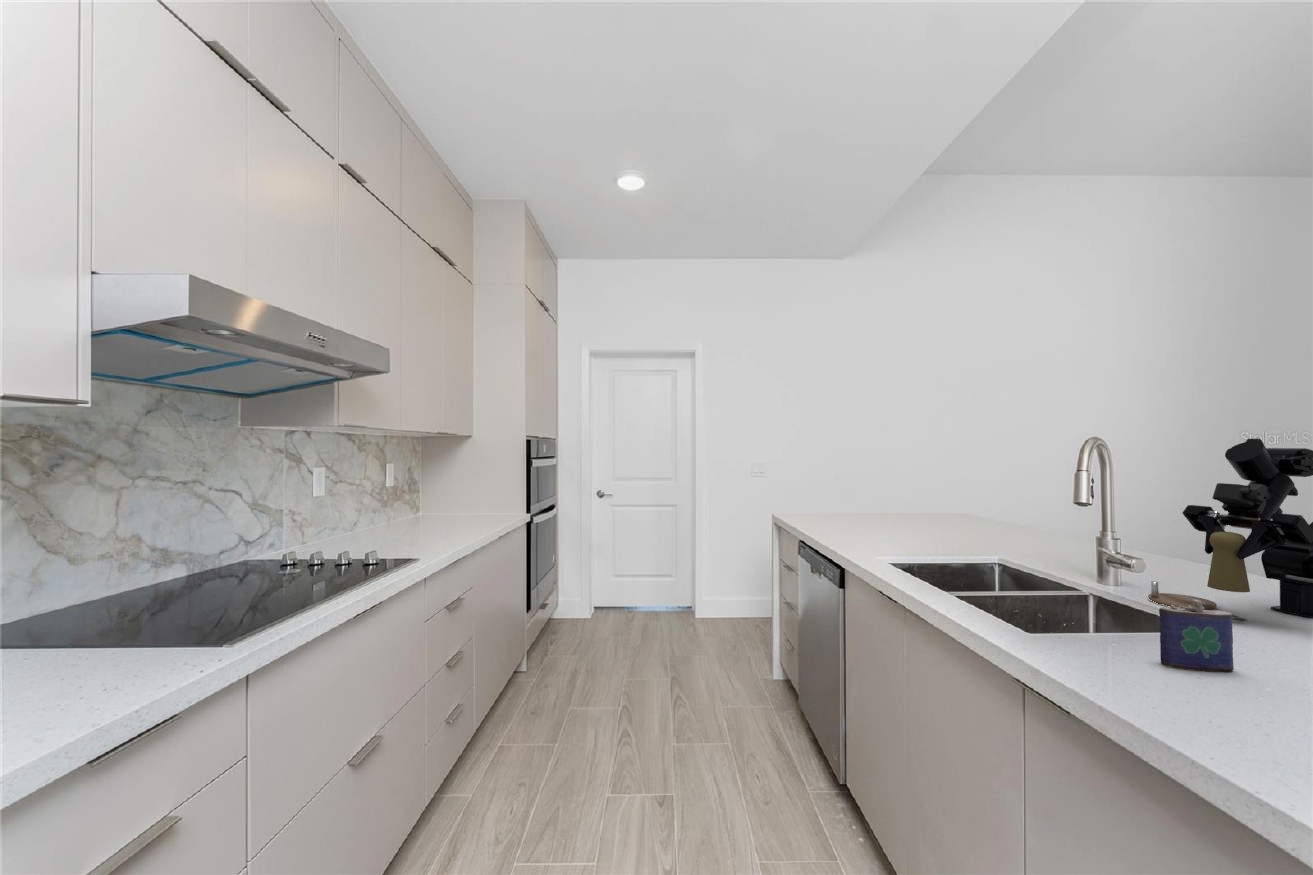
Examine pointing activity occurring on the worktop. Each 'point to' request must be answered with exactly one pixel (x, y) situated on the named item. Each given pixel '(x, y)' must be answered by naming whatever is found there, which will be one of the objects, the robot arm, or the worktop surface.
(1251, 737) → the worktop surface
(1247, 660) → the worktop surface
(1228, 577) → the cork
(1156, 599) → the walnut plate
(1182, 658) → the flask
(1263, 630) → the worktop surface
